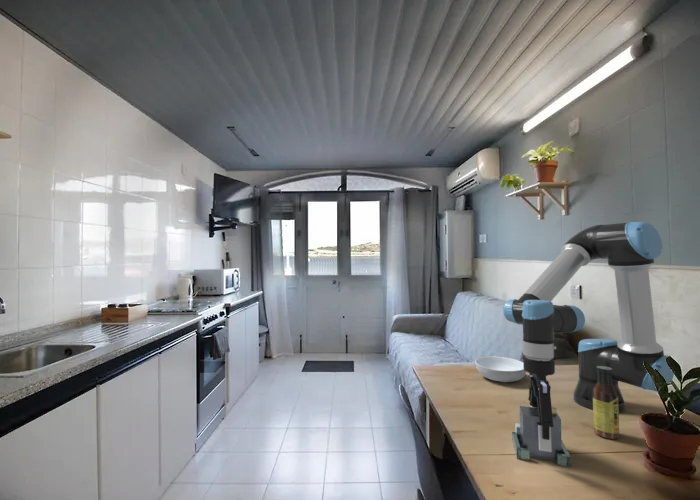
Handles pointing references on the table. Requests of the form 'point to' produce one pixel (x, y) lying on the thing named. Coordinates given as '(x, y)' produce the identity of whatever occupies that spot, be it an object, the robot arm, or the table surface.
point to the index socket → (524, 453)
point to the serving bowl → (500, 368)
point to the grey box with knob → (531, 433)
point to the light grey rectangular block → (517, 427)
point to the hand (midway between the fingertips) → (540, 440)
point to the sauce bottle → (605, 405)
